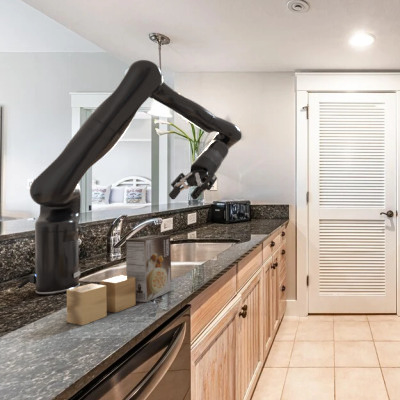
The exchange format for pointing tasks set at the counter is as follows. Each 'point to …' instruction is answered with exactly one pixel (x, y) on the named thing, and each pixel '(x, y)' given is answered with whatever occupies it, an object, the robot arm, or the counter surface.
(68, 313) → the maple block near
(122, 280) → the maple block middle
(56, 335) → the counter surface
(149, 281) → the printed cardboard box
